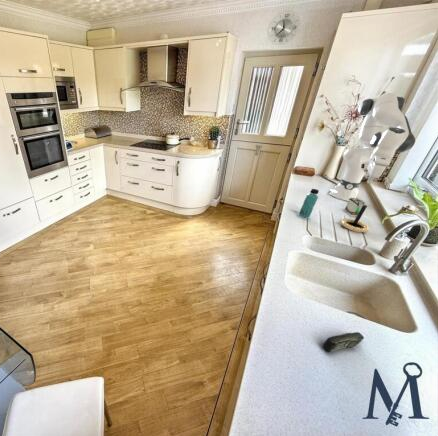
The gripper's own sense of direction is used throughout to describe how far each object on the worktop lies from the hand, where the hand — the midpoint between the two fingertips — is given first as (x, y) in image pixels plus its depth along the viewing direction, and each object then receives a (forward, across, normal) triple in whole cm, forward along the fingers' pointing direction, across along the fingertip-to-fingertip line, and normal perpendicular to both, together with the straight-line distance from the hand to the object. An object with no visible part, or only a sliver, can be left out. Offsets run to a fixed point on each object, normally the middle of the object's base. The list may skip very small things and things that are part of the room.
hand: (367, 180), depth 141 cm
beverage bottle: (+28, +16, -24) cm, 40 cm away
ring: (+25, +13, +3) cm, 28 cm away
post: (+27, +10, +3) cm, 29 cm away
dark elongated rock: (+25, +111, -5) cm, 114 cm away
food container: (+28, -12, +4) cm, 31 cm away
